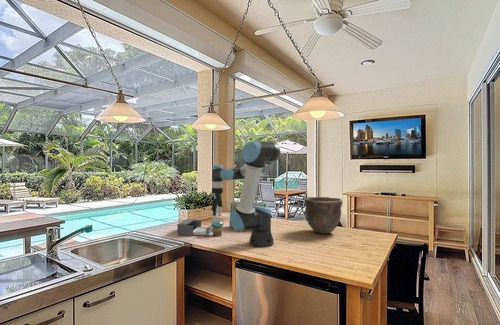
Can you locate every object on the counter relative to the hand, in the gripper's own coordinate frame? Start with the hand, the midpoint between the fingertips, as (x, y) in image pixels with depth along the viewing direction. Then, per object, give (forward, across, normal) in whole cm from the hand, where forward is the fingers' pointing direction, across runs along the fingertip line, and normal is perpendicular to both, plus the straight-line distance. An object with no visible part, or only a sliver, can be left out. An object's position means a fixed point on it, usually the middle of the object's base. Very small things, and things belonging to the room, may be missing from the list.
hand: (217, 218), depth 190 cm
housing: (+12, +6, +21) cm, 25 cm away
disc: (+5, 0, 0) cm, 5 cm away
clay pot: (+12, +17, -74) cm, 77 cm away
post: (+12, 0, 0) cm, 12 cm away
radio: (+12, +23, -19) cm, 32 cm away
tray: (+12, +6, +13) cm, 18 cm away
